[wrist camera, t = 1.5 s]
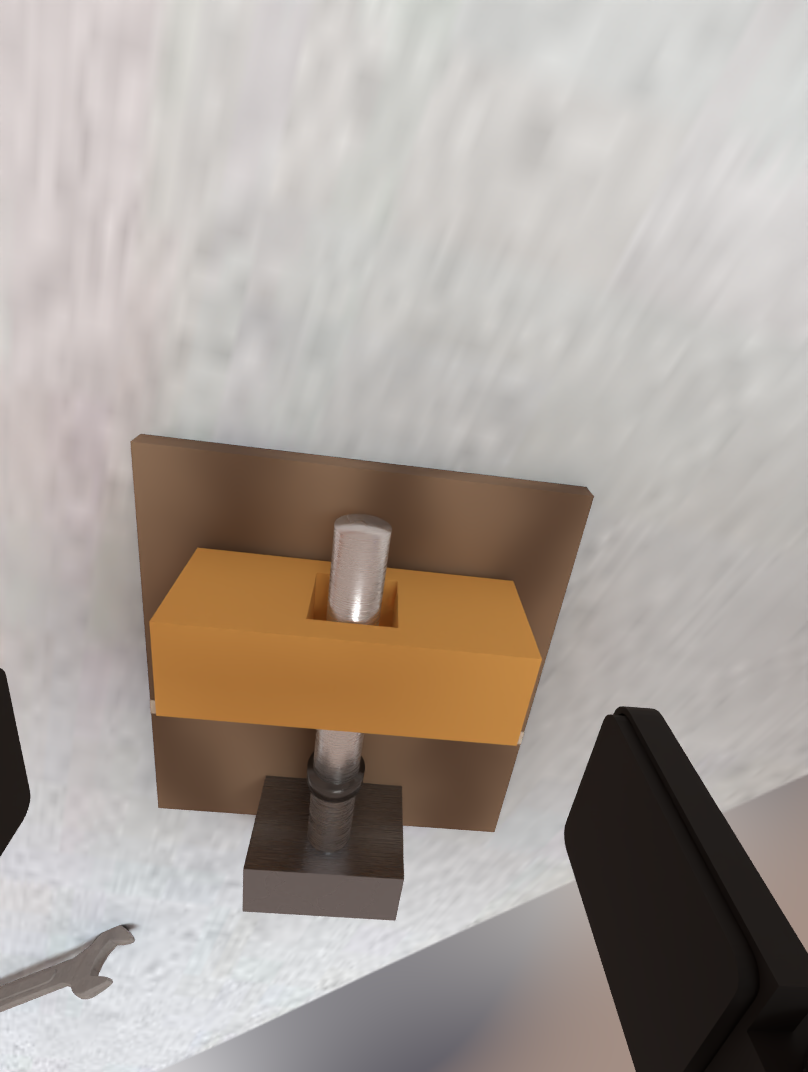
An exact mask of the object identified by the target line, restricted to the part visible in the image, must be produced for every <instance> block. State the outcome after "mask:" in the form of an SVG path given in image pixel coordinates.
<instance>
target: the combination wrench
mask: <svg viewBox="0 0 808 1072" xmlns="http://www.w3.org/2000/svg"><path fill="white" fill-rule="evenodd" d="M134 941H135V939H134V937H133V935H132V934H131V932H129V931H128V930H127V929H126V928H124V927H123V926H122V925H119V926H117V927H114V928H112V929H110V930H107V931H105V932H103V933H102V934H101V935H99V936H98V937H97V939H96V940H95V941H94V942H93V944H92V945H90V946H89V947H88V948H87V949H85V950H84V951H83V952H81V953H80V954H79V955H77V956H76V957H74V958H73V959H70V960H68V961H65V962H62V963H60V964H57V965H55V966H52V967H49V968H47V969H44V970H41V971H39V972H36V973H34V974H31V975H28V976H26V977H23V978H20V979H18V980H15V981H13V982H10V983H7V984H5V985H2V986H0V1012H2V1011H5V1010H7V1009H10V1008H12V1007H15V1006H17V1005H20V1004H23V1003H25V1002H28V1001H30V1000H33V999H35V998H38V997H41V996H43V995H46V994H48V993H51V992H53V991H56V990H59V989H61V988H64V987H66V986H69V987H71V989H72V992H73V993H74V994H75V995H76V996H78V997H79V998H81V999H90V998H93V997H94V996H96V995H98V994H99V993H101V992H102V991H104V990H105V989H106V988H108V987H109V986H110V985H111V984H112V983H113V981H112V979H110V978H108V977H102V976H98V975H99V972H100V970H101V968H102V966H103V964H104V962H105V960H106V959H107V957H108V955H109V954H110V953H111V952H112V951H113V950H114V948H115V947H116V946H117V945H126V944H131V943H133V942H134Z"/></svg>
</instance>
